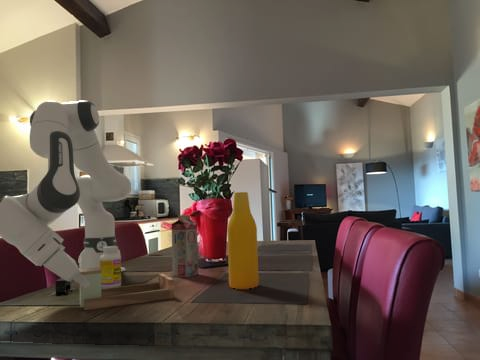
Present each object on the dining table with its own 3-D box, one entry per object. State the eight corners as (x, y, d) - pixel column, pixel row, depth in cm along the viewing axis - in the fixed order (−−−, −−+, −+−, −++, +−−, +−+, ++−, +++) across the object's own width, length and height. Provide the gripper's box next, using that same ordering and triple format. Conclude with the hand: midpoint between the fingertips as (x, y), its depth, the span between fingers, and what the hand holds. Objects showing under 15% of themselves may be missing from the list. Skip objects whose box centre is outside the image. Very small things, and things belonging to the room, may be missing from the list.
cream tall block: (79, 303, 104) (79, 269, 104) (99, 300, 106) (99, 267, 107) (80, 307, 99) (80, 272, 100) (101, 304, 101) (101, 270, 102)
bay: (80, 300, 107) (80, 282, 108) (162, 289, 118) (162, 273, 118) (84, 310, 96) (83, 290, 96) (174, 297, 106) (173, 279, 107)
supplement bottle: (114, 288, 121) (114, 247, 122) (95, 288, 122) (95, 248, 123) (125, 284, 128) (124, 245, 128) (107, 284, 129) (106, 245, 130)
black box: (60, 290, 124) (60, 275, 125) (83, 289, 125) (82, 275, 125) (42, 299, 112) (42, 283, 112) (67, 298, 112) (67, 282, 113)
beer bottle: (264, 286, 117) (261, 191, 119) (239, 291, 112) (235, 192, 114) (248, 282, 125) (245, 192, 127) (223, 286, 120) (220, 193, 122)
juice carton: (198, 274, 142) (196, 214, 144) (186, 277, 137) (185, 215, 138) (184, 272, 146) (182, 214, 147) (172, 276, 140) (171, 215, 142)
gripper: (37, 253, 107) (75, 285, 110) (34, 262, 89) (80, 299, 92) (54, 236, 109) (91, 268, 113) (55, 241, 91) (99, 278, 94)
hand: (86, 282), depth 102 cm, fingers open, 8 cm apart
